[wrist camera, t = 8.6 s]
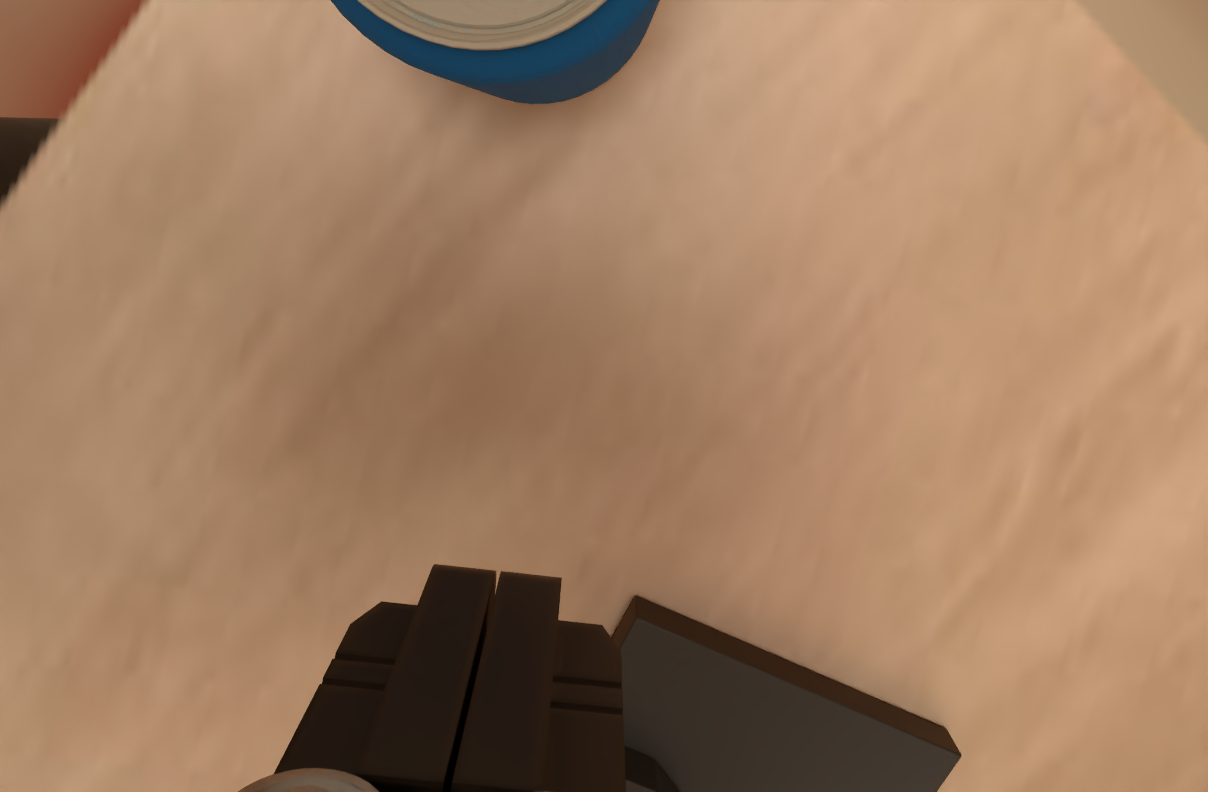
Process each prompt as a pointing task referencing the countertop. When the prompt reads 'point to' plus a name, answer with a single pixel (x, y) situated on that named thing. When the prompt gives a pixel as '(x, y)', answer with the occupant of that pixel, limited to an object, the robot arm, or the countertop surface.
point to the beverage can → (508, 41)
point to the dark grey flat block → (757, 719)
